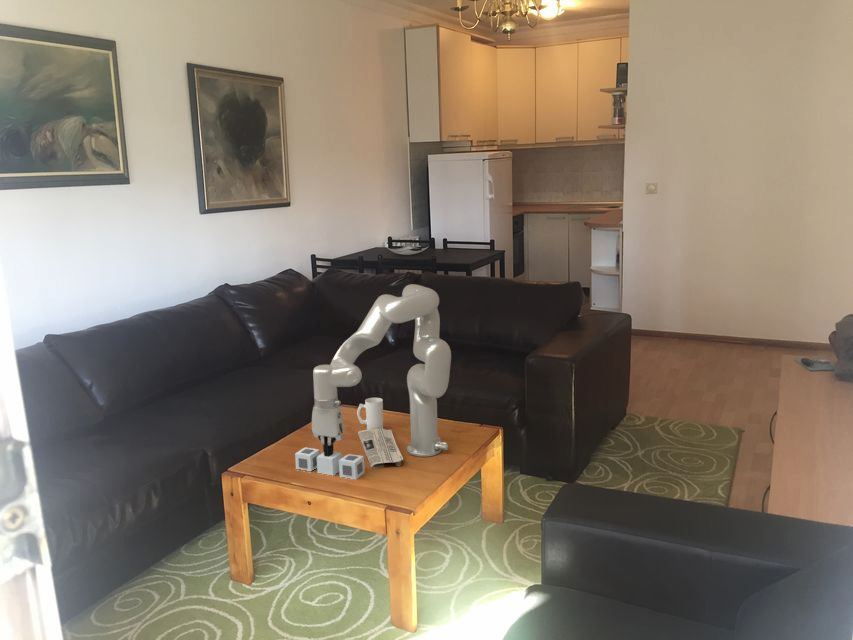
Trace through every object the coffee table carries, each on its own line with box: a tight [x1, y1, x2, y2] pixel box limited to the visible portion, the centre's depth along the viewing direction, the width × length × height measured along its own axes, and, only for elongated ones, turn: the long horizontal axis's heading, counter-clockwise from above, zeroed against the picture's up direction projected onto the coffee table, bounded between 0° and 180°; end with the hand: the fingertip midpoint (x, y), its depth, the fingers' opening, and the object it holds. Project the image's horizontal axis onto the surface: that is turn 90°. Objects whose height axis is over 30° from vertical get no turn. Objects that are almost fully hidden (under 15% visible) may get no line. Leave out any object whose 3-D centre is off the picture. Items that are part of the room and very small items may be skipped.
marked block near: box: [338, 453, 365, 481], centre depth 243 cm, size 6×6×6 cm
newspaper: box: [357, 427, 404, 470], centre depth 265 cm, size 35×12×4 cm, turn 13°
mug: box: [356, 397, 384, 430], centre depth 284 cm, size 10×7×12 cm, turn 98°
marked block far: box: [294, 446, 321, 471], centre depth 250 cm, size 6×6×6 cm
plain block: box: [316, 451, 343, 477], centre depth 246 cm, size 6×6×6 cm
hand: (328, 454), depth 246 cm, fingers closed
